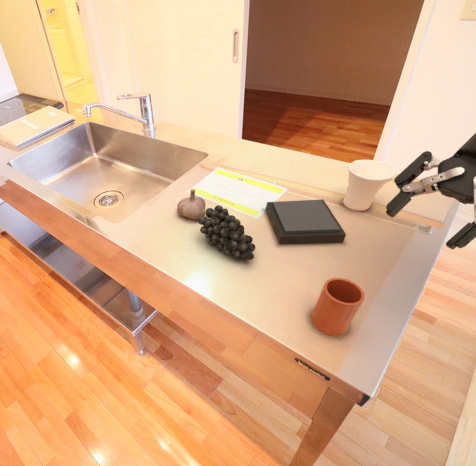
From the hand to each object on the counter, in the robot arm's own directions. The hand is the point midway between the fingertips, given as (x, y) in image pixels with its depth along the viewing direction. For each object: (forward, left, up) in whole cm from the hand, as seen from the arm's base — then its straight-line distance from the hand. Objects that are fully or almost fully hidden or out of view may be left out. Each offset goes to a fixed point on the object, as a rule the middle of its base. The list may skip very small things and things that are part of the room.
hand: (417, 229), depth 48 cm
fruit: (+24, -14, -16) cm, 33 cm away
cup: (-9, -28, -16) cm, 34 cm away
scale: (+6, -21, -16) cm, 27 cm away
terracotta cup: (+10, +5, -16) cm, 20 cm away
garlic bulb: (+31, -27, -16) cm, 45 cm away
